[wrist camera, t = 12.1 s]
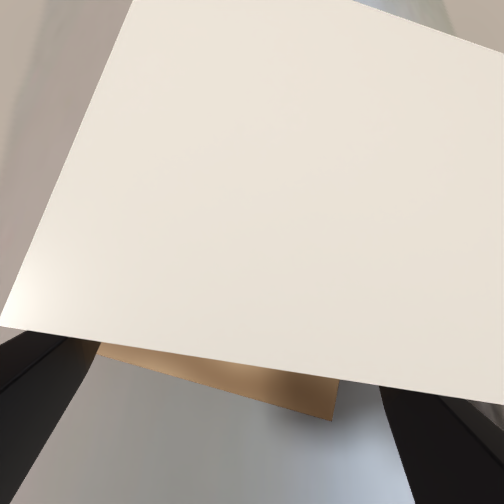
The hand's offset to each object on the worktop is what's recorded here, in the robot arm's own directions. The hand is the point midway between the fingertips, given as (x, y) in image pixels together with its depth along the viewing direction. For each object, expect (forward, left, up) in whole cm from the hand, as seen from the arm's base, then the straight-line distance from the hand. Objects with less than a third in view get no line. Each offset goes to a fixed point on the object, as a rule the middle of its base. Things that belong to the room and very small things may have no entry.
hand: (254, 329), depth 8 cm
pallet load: (+3, +1, -8) cm, 8 cm away
